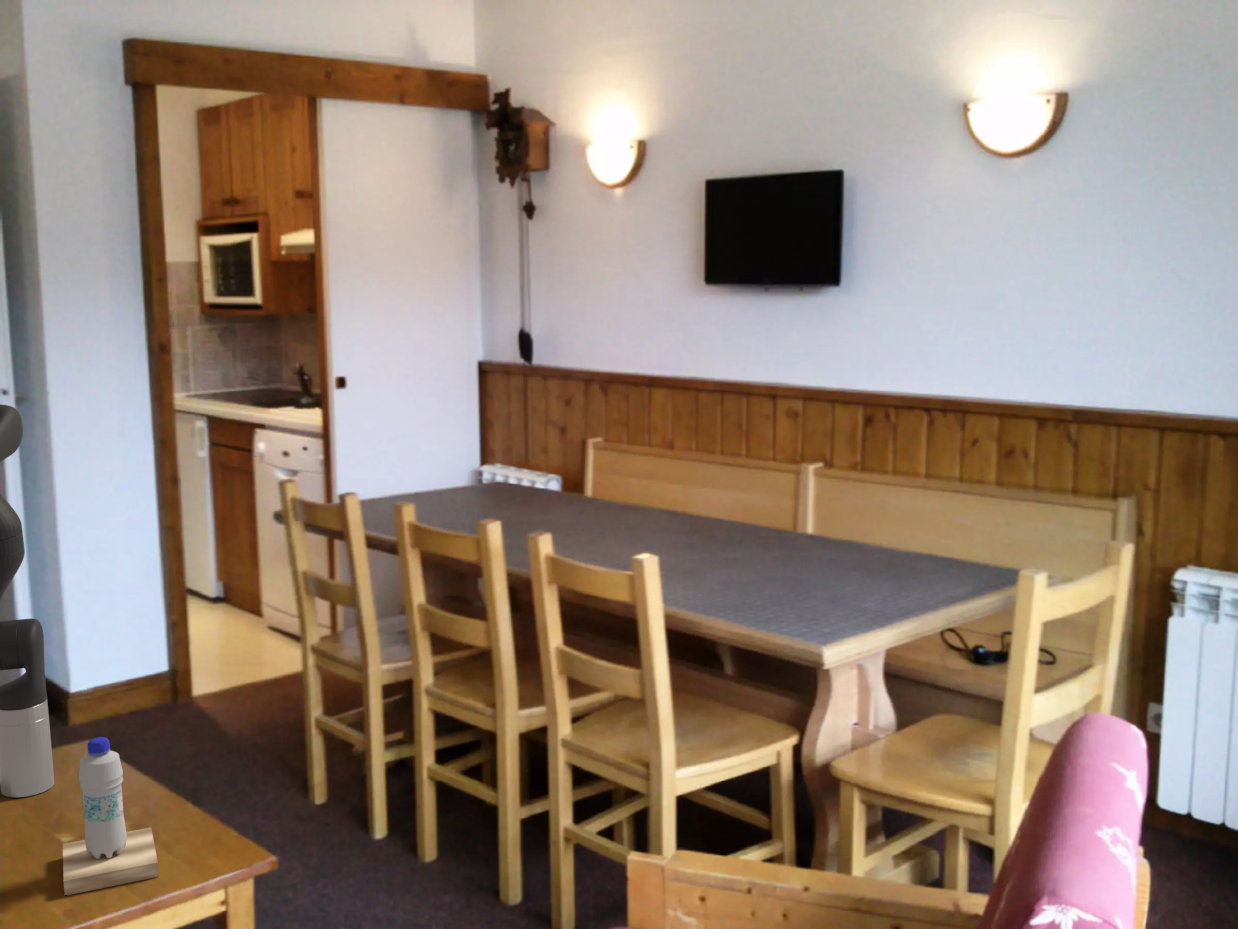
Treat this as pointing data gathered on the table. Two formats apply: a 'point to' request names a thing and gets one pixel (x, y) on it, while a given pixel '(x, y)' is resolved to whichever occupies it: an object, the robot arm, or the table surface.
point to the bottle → (102, 799)
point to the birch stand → (109, 864)
